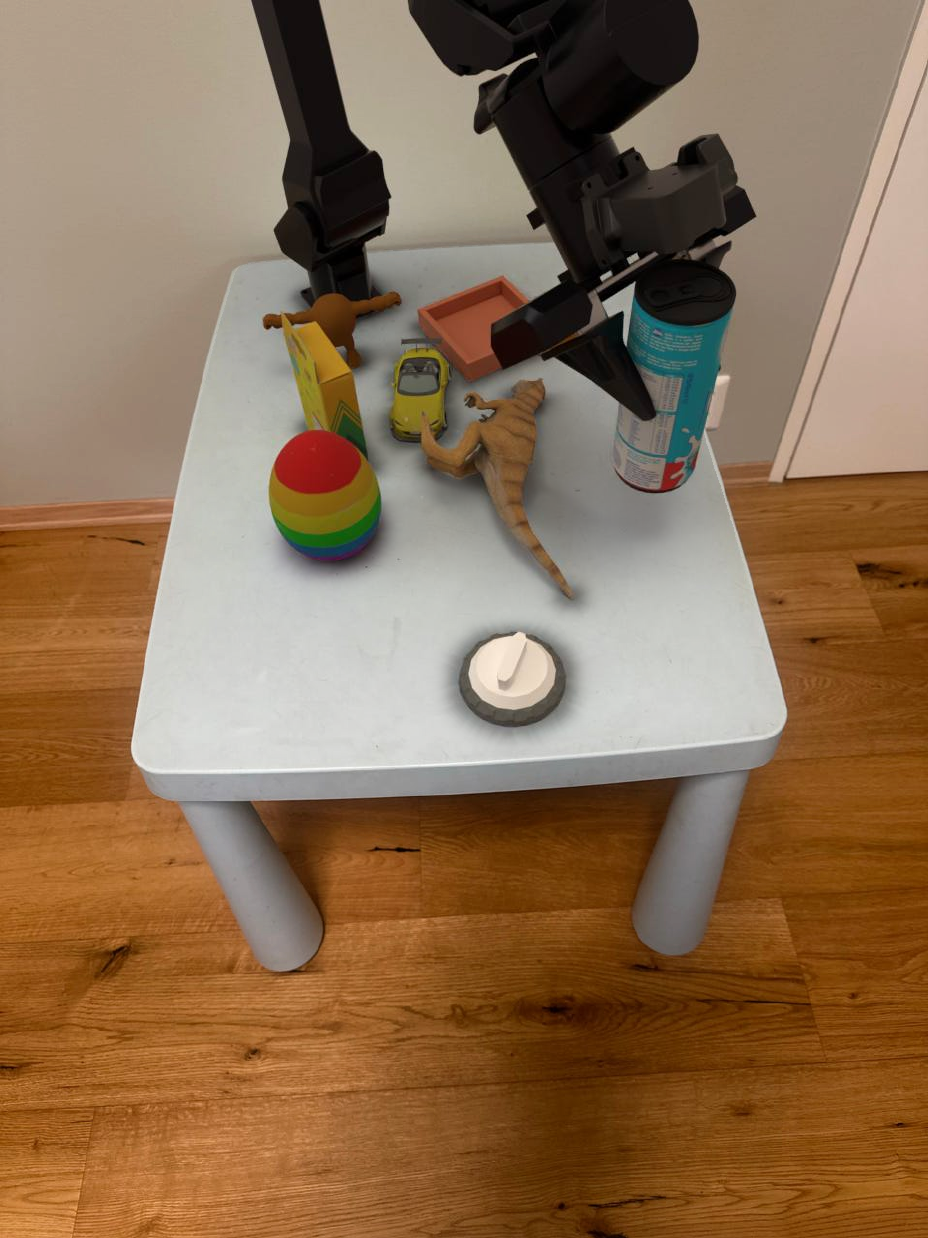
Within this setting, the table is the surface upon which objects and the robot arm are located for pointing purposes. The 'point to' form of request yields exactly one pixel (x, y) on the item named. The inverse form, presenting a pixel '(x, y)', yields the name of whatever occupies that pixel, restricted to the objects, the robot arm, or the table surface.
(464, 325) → the tray
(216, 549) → the table surface
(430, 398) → the toy car
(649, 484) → the beverage can
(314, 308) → the toy figurine
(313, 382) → the crayon box
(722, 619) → the table surface
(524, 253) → the table surface
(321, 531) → the decorative egg
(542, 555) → the dinosaur figurine
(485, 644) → the stove knob
